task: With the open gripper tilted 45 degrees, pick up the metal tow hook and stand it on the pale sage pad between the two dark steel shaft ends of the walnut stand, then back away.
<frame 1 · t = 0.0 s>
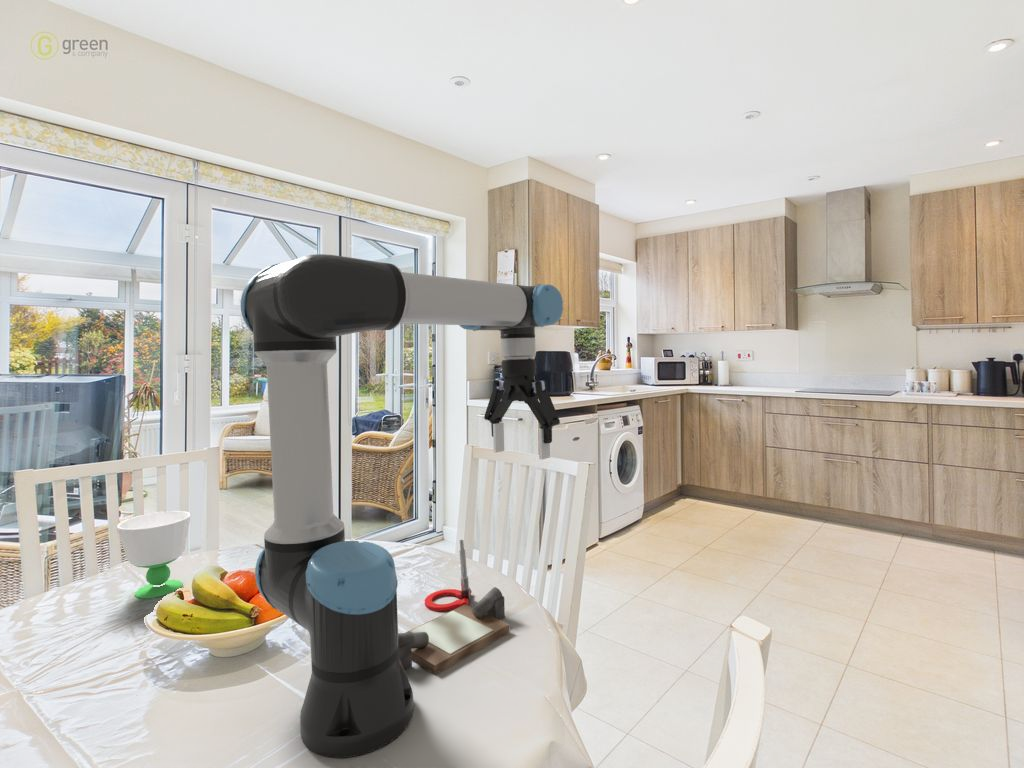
hand: (521, 455, 118), 28 cm above the table, tool pointing down, fingers open, 13 cm apart
shaft stand: (451, 639, 95), on the table
cup: (159, 590, 120), on the table
tow hook: (447, 603, 110), on the table
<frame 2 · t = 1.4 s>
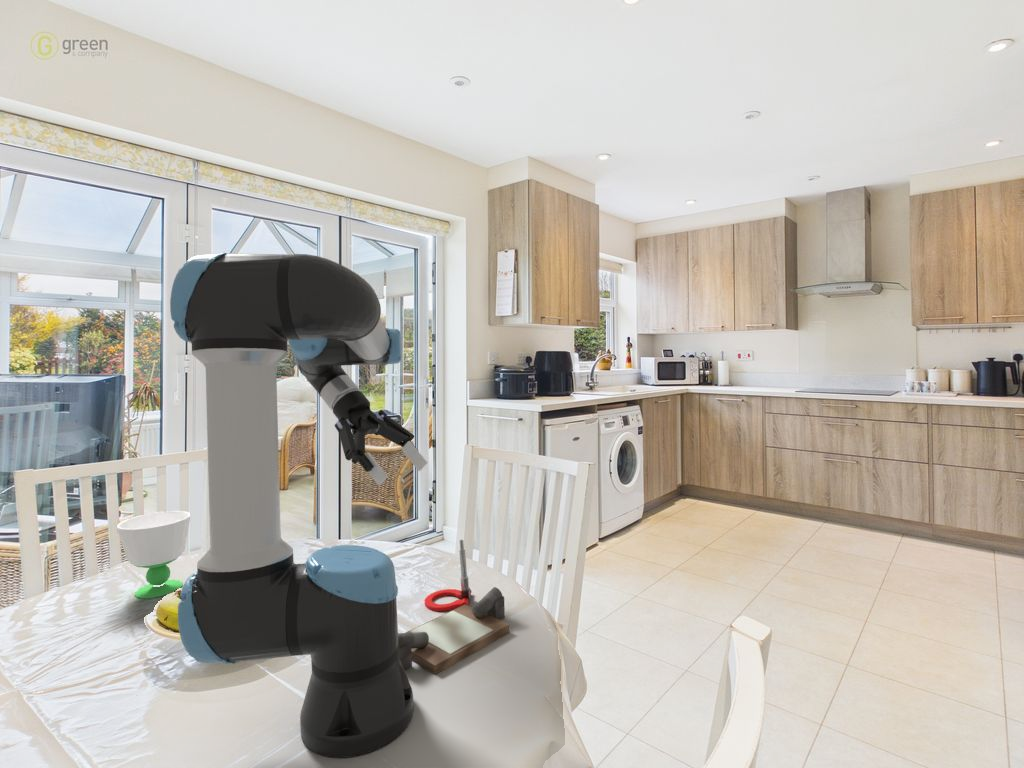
hand: (404, 473, 113), 26 cm above the table, tool tilted 45°, fingers open, 13 cm apart
nothing on the table moved.
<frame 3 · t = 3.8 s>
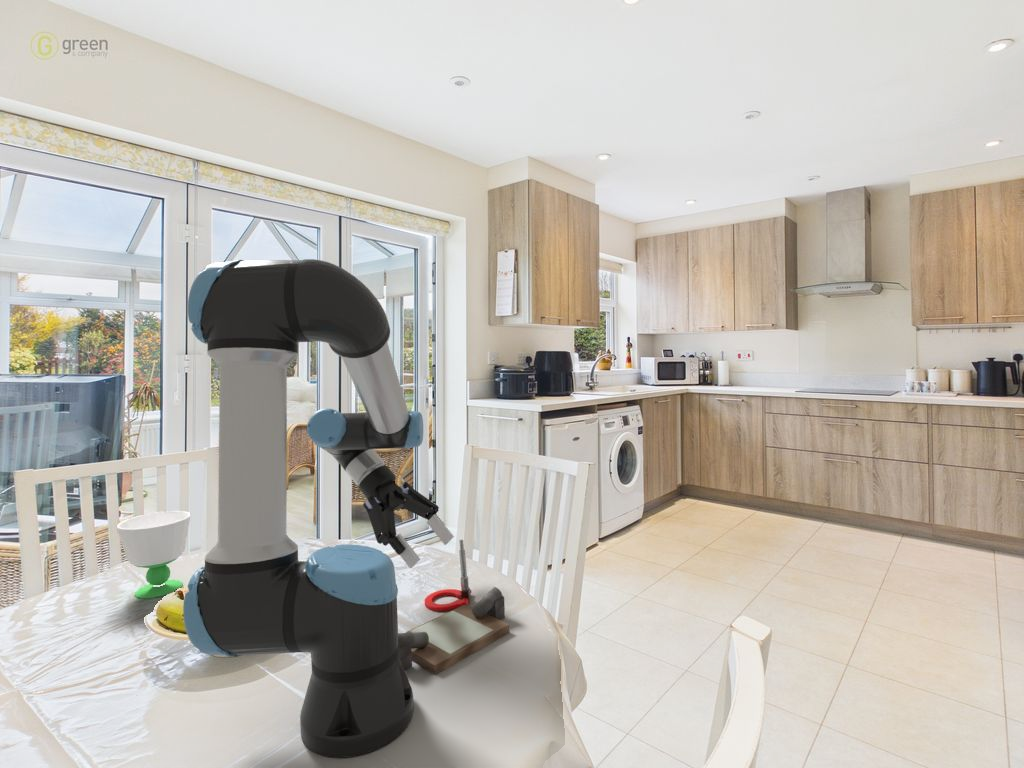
hand: (433, 551, 112), 9 cm above the table, tool tilted 45°, fingers open, 13 cm apart
nothing on the table moved.
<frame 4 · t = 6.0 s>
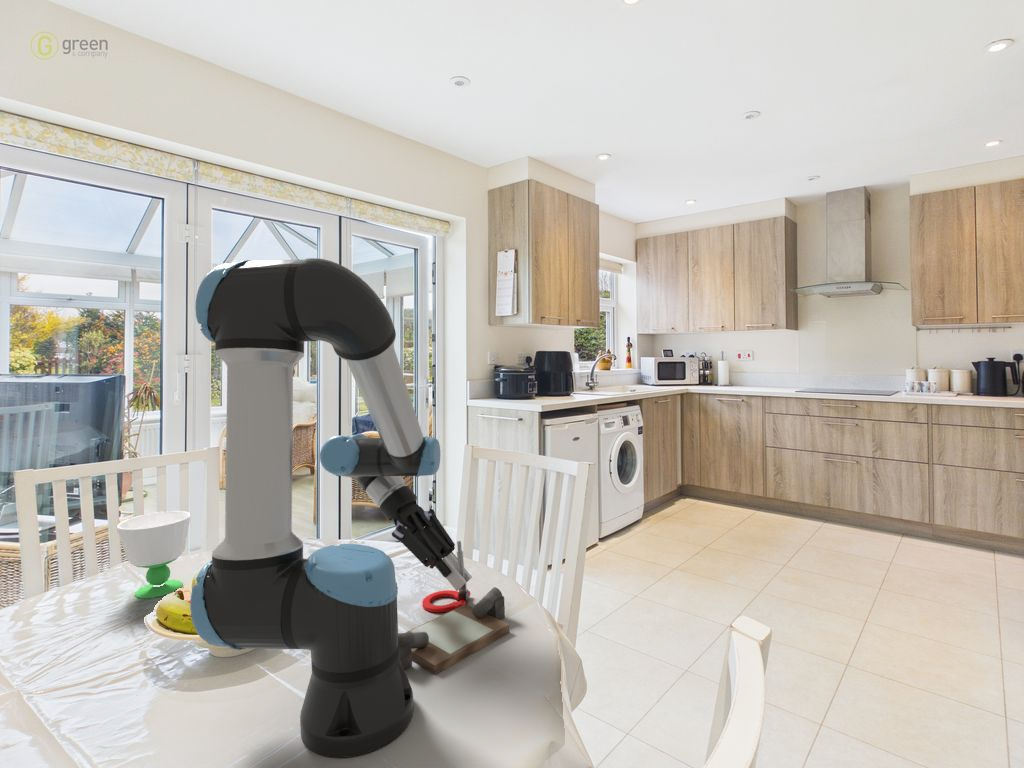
hand: (464, 584, 108), 4 cm above the table, tool tilted 45°, fingers closed on tow hook, 2 cm apart
tow hook: (445, 604, 109), on the table, touching gripper
everything else where it was.
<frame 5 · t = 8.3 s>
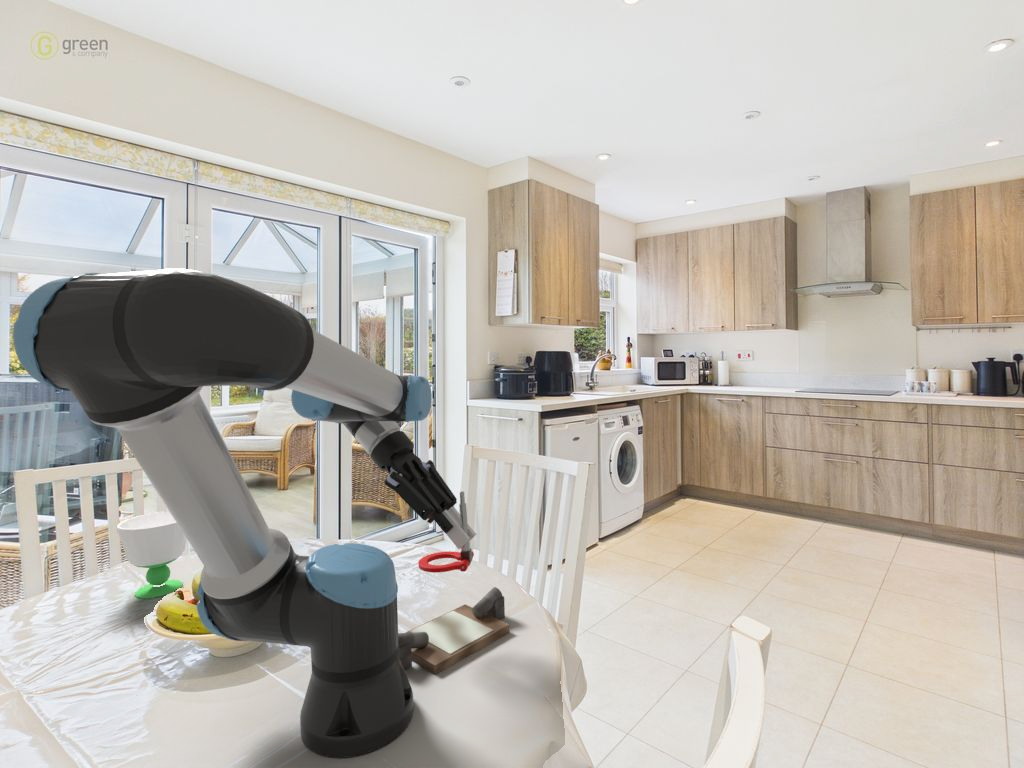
hand: (467, 541, 94), 18 cm above the table, tool tilted 45°, fingers closed on tow hook, 2 cm apart
tow hook: (445, 566, 94), point 13 cm above the table, touching gripper
everything else where it was.
when the fingers open (7 cm above the table, at t = 10.6 s): tow hook drops 1 cm, resting on shaft stand.
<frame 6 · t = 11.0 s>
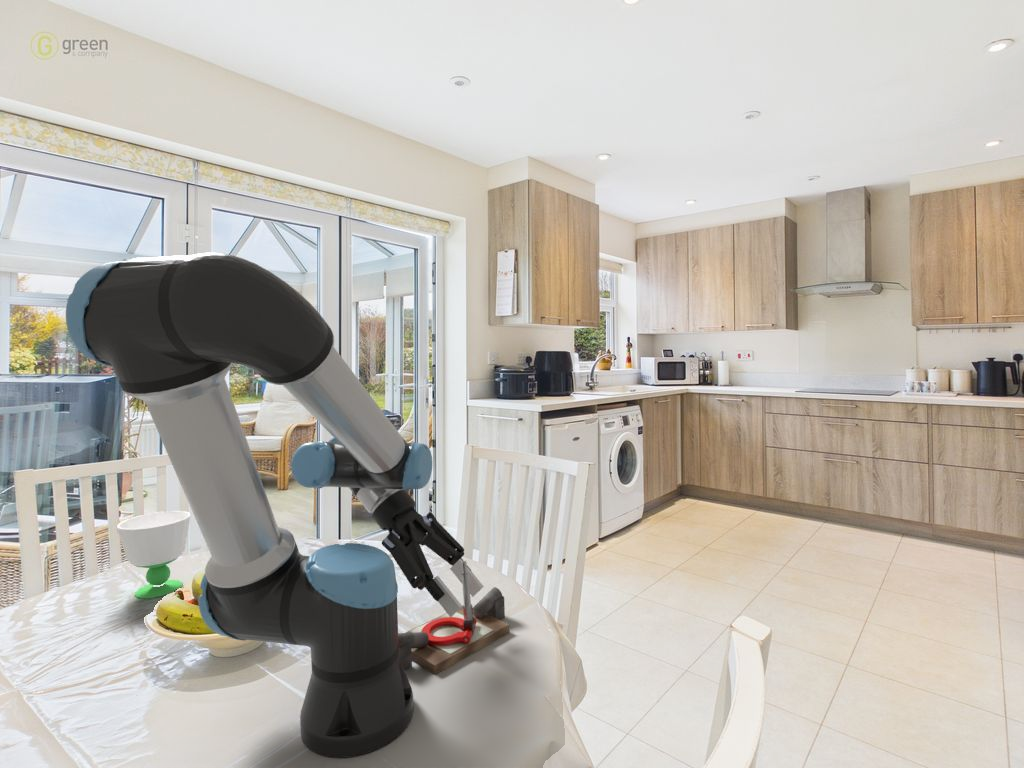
hand: (467, 601, 93), 8 cm above the table, tool tilted 45°, fingers open, 7 cm apart
tow hook: (448, 635, 94), point 1 cm above the table, touching shaft stand
everything else where it was.
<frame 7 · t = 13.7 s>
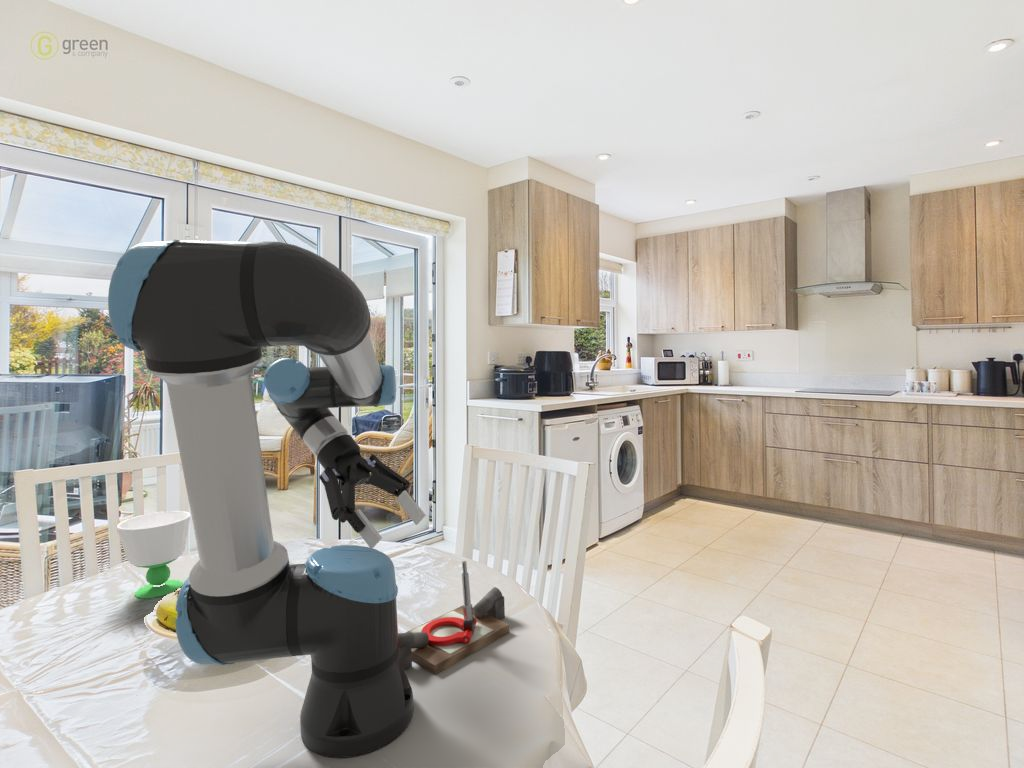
hand: (400, 531, 98), 18 cm above the table, tool tilted 45°, fingers open, 13 cm apart
nothing on the table moved.
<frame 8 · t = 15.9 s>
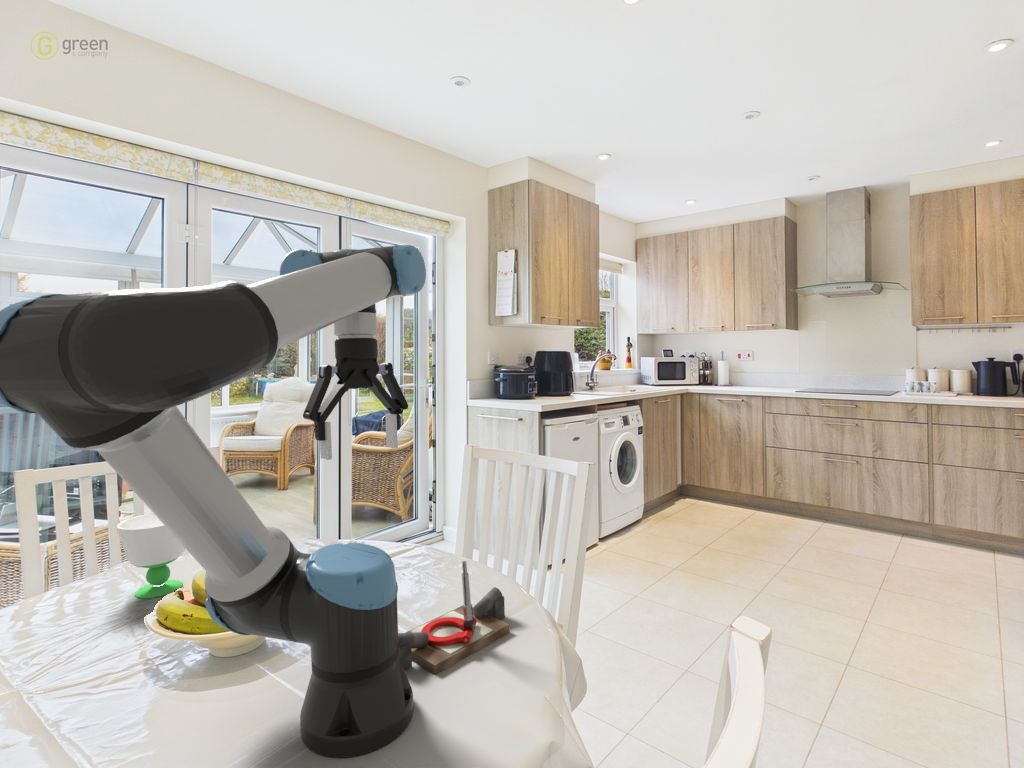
hand: (360, 453, 99), 33 cm above the table, tool pointing down, fingers open, 13 cm apart
nothing on the table moved.
at the end: tow hook 1.3 cm off-centre on the shaft stand, point 1.5 cm above the shaft stand's base; tow hook tilted 0°; the gripper is holding nothing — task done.
